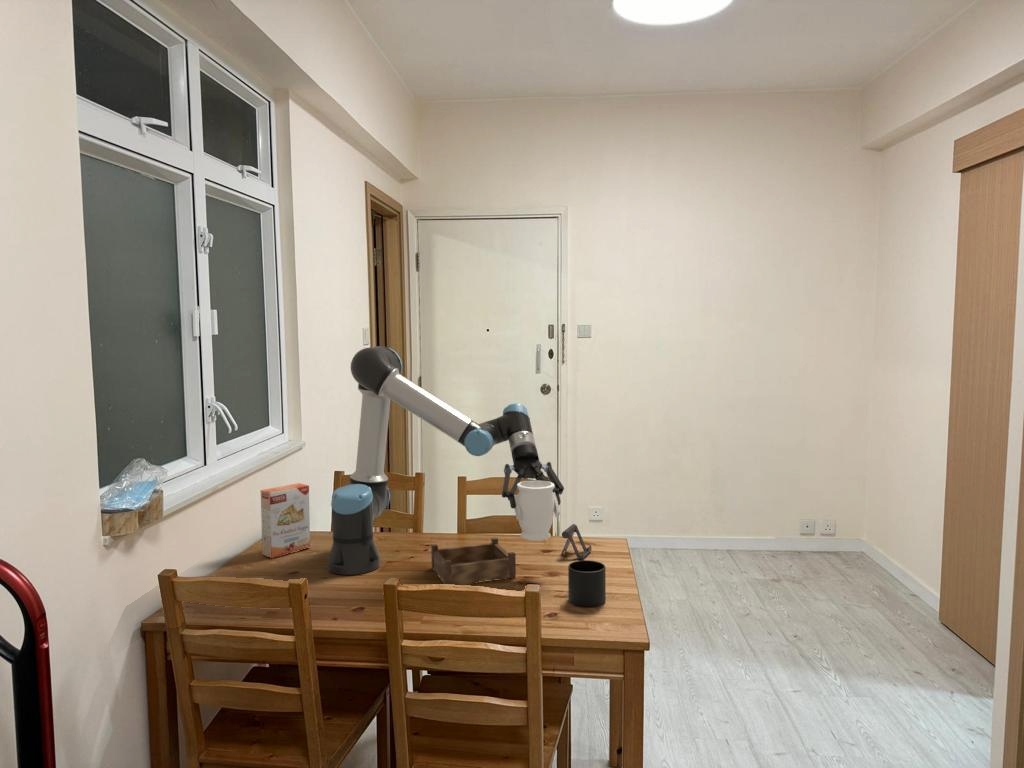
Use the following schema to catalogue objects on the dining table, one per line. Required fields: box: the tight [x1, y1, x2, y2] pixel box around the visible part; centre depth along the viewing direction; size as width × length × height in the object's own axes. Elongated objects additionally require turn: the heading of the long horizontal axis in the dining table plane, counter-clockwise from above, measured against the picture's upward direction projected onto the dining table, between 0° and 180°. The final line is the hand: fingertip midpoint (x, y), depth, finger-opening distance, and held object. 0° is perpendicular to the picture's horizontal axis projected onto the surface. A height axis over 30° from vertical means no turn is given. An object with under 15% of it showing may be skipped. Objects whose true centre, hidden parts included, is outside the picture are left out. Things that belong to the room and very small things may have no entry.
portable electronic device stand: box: [560, 523, 592, 561], centre depth 222 cm, size 9×8×8 cm
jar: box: [517, 479, 555, 542], centre depth 202 cm, size 11×10×15 cm
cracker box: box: [260, 482, 311, 559], centre depth 228 cm, size 14×6×21 cm, turn 139°
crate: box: [430, 537, 517, 586], centre depth 207 cm, size 20×17×7 cm
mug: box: [567, 559, 607, 608], centre depth 187 cm, size 9×12×9 cm
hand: (538, 516), depth 199 cm, fingers closed on jar, 10 cm apart
